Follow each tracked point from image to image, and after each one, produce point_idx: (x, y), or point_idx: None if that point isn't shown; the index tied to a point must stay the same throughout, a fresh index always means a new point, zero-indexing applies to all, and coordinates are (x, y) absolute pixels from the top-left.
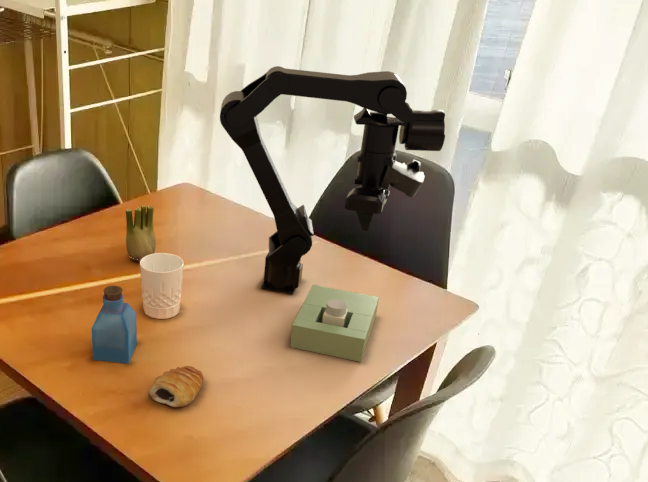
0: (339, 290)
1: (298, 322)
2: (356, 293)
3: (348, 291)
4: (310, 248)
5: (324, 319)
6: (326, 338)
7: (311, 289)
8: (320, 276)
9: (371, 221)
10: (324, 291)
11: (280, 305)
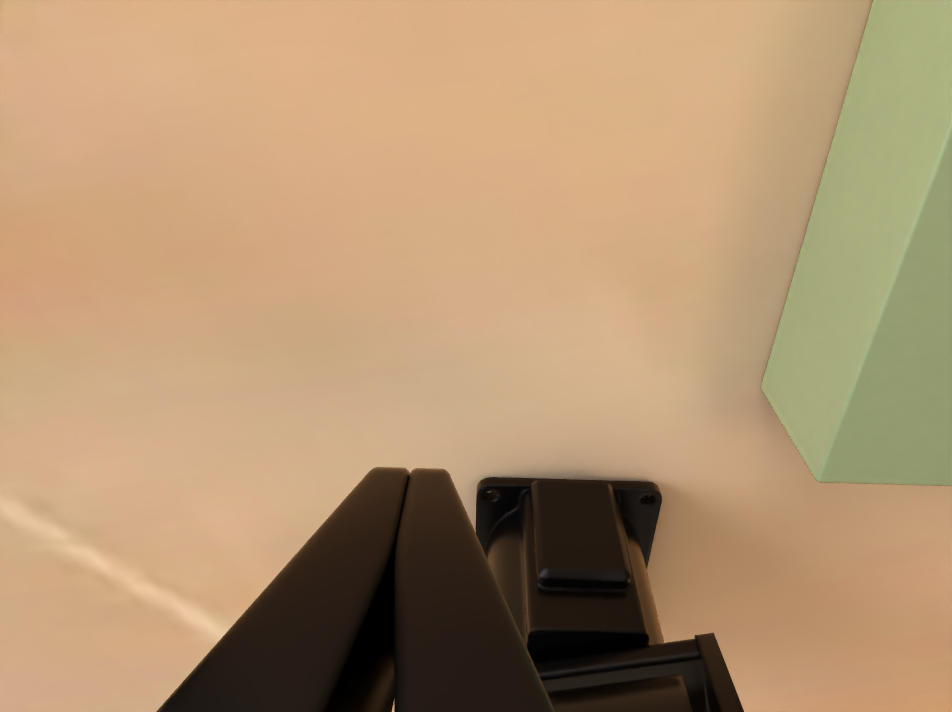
0: (894, 319)
1: None
2: (944, 188)
3: (906, 254)
4: (689, 706)
5: None
6: None
7: (891, 480)
8: (375, 395)
9: (362, 572)
10: (919, 408)
11: (778, 506)
